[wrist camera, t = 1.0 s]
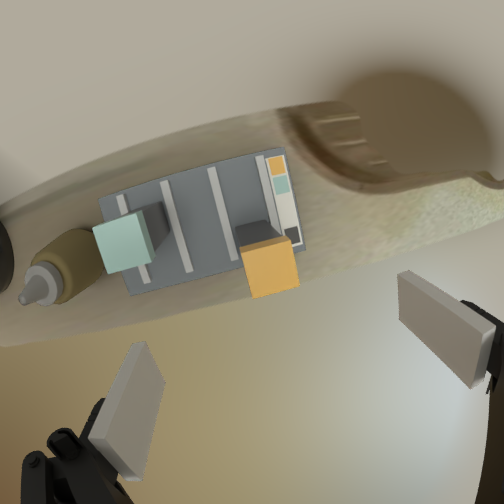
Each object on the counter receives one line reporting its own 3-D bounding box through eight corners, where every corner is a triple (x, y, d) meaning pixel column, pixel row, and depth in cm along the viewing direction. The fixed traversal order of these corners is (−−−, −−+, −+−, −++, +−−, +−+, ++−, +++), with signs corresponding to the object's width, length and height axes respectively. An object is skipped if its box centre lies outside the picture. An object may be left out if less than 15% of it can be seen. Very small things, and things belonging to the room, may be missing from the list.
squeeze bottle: (57, 242, 38) (-16, 283, 21) (93, 212, 38) (22, 242, 20) (85, 286, 40) (27, 347, 23) (123, 259, 40) (70, 317, 23)
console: (134, 289, 41) (128, 299, 38) (104, 197, 37) (95, 199, 34) (301, 245, 42) (308, 252, 39) (279, 148, 38) (285, 146, 35)
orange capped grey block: (240, 258, 39) (253, 299, 27) (232, 225, 38) (240, 253, 25) (273, 249, 39) (299, 286, 27) (266, 217, 38) (290, 240, 26)
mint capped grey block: (140, 241, 37) (107, 274, 24) (131, 208, 36) (92, 227, 23) (172, 232, 37) (151, 262, 25) (162, 198, 36) (136, 213, 23)
